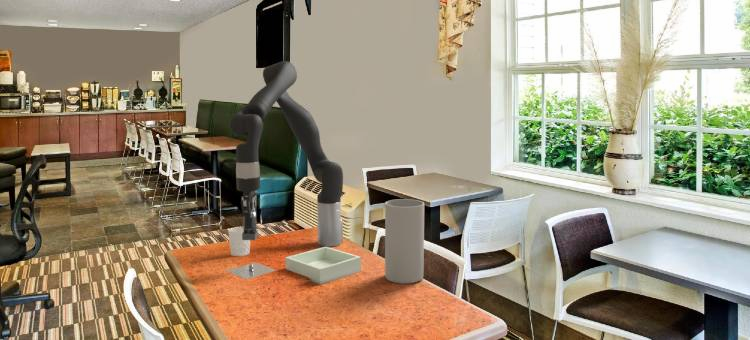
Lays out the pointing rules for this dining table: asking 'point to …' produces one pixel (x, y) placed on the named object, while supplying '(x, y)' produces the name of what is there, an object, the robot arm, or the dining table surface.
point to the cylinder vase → (404, 240)
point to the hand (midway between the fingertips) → (250, 226)
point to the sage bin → (324, 264)
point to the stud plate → (251, 270)
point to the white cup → (238, 242)
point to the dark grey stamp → (250, 233)
